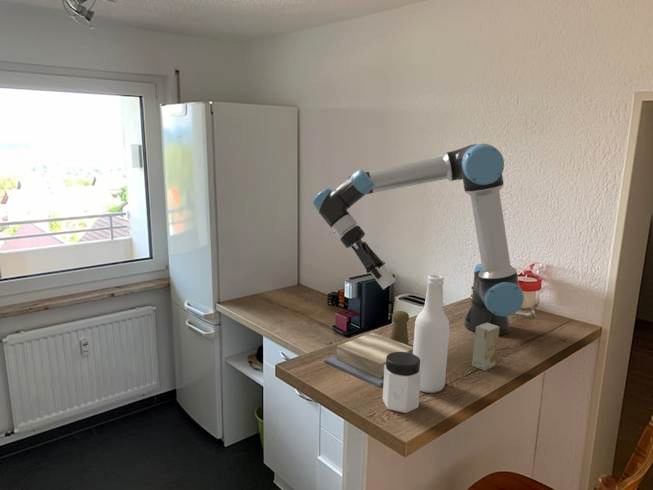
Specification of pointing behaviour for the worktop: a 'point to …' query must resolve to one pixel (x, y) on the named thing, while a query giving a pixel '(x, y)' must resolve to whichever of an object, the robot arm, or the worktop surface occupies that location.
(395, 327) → the cork
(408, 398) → the jar
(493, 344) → the skincare box
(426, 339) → the alcohol
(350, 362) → the plinth
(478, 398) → the worktop surface
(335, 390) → the worktop surface
